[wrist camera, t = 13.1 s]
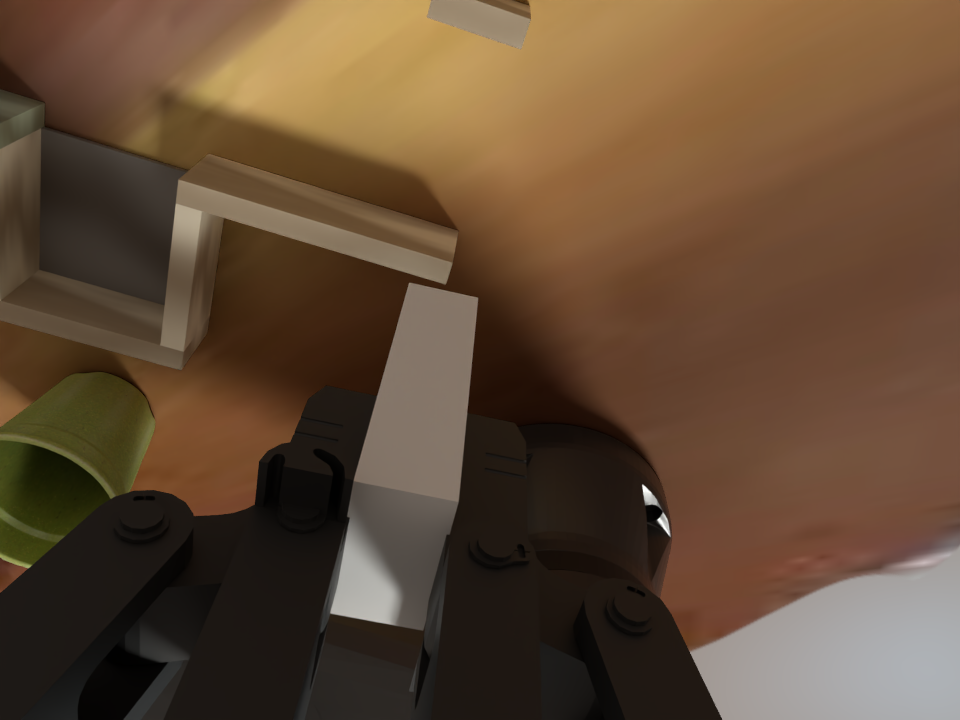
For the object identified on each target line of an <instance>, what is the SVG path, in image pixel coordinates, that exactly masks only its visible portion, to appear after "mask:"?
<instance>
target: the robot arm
mask: <svg viewBox="0 0 960 720" xmlns="http://www.w3.org/2000/svg"><path fill="white" fill-rule="evenodd" d="M477 306H478V298H477V297H473V296H468V295H464V294H459V293H455V292H450V291H445V290H441V289H436V288H432V287H427V286H423V285H418V284H414V283H409V285H408V289H407V292H406V296H405V299H404V303H403V306H402V310H401V313H400V317H399V321H398V324H397V328H396V331H395V335H394V338H393V342H392V346H391V349H390V353H389V356H388V360H387V363H386V367H385V370H384V374H383V378H382V381H381V385H380V388H379V392H378V395H377V396H374V395H370V394H365V393H360V392H355V391H350V390H346V389H341V388H336V387H331V386H325V387H324V388H322V389H321V390H320V391H318V392H317V393H316V394H314V395H313V396H312V397H310V398H309V399H308V401H307V404H306V406H305V408H304V411H303V413H302V416H301V419H300V420H299V423H298V425H297V428H296V430H295V434H294V435H293V437H292V440H291V442H290V443H284V444H281V445H279V446H277V447H275V448H273V449H271V450H269V451H267V453H266V454H265V455H264V456H263V457H262V459H261V460H260V461H259V469H258V479H257V489H256V499H255V505H253V506H251V507H249V508H248V509H245V510H242V511H239V512H235V513H231V514H223V515H211V516H193V513H192V511H191V510H190V508H189V507H188V505H187V504H186V502H184V501H182V500H181V499H179V498H177V497H176V496H174V495H172V494H169V493H164V492H160V491H155V490H146V491H132V492H129V493H125V494H122V495H118V496H115V497H113V498H112V499H110V500H108V501H107V502H105V503H103V504H102V505H100V506H99V507H98V508H97V509H95V510H94V511H93V512H92V513H91V514H90V515H89V516H87V517H86V518H85V519H84V520H83V521H82V522H81V523H79V524H78V525H77V526H76V527H75V528H74V529H73V530H72V531H70V532H69V533H68V534H67V535H66V536H65V537H64V538H62V539H61V540H60V541H59V542H58V543H57V544H56V545H55V546H53V547H52V548H51V549H50V550H49V551H48V552H47V553H45V554H44V555H43V556H42V557H41V558H40V559H39V560H37V561H36V562H35V563H34V564H33V565H32V566H31V567H30V568H28V569H27V570H26V571H25V572H24V573H23V574H22V575H20V576H19V577H18V578H17V579H16V580H15V581H14V582H13V583H11V584H10V585H9V586H8V587H7V588H6V589H5V590H3V591H2V592H1V593H0V720H722V718H721V716H720V714H719V712H718V710H717V708H716V706H715V704H714V702H713V700H712V698H711V696H710V693H709V691H708V689H707V687H706V685H705V683H704V681H703V679H702V677H701V675H700V673H699V671H698V668H697V666H696V665H695V662H694V660H693V658H692V656H691V654H690V652H689V650H688V648H687V646H686V644H685V642H684V640H683V637H682V635H681V633H680V631H679V629H678V627H677V625H676V623H675V621H674V619H673V617H672V615H671V613H670V612H669V610H668V609H667V607H666V606H665V604H664V603H663V602H662V600H661V599H660V595H661V590H662V586H663V581H664V577H665V572H666V568H667V563H668V558H669V554H670V549H671V542H672V528H671V520H670V515H669V511H668V506H667V502H666V497H665V494H664V490H663V488H662V485H661V483H660V481H659V479H658V477H657V476H656V474H655V472H654V471H653V470H652V468H651V467H650V466H649V464H648V463H647V462H646V461H645V460H644V459H643V458H642V457H641V456H640V455H639V454H637V453H636V452H635V451H634V450H632V449H631V448H630V447H628V446H627V445H625V444H623V443H622V442H620V441H618V440H616V439H614V438H612V437H610V436H608V435H605V434H603V433H600V432H597V431H594V430H591V429H587V428H583V427H578V426H572V425H564V424H534V425H526V426H520V427H517V426H516V424H515V423H513V422H508V421H504V420H499V419H494V418H489V417H484V416H480V415H475V414H470V413H467V409H468V399H469V389H470V378H471V368H472V358H473V347H474V337H475V327H476V316H477Z"/></svg>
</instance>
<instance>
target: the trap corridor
mask: <svg viewBox="0 0 960 720" xmlns="http://www.w3.org/2000/svg"><path fill="white" fill-rule="evenodd" d="M427 18H430V19H433V20H436V21H439V22H442V23H445V24H448V25H451V26H453V27H456V28H459V29H462V30H465V31H468V32H471V33H474V34H477V35H480V36H483V37H486V38H489V39H492V40H495V41H497V42H500V43H503V44H506V45H509V46H512V47H515V48H518V49H521V48H522V45H523V42H524V39H525V36H526V33H527V30H528V27H529V23H530V20H531V14H530V6H529V5H526V4H523V3H520V2H517V1H514V0H431V4H430V8H429V11H428V15H427ZM44 119H45V103H44V102H40V101H37V100H34V99H31V98H27V97H24V96H21V95H18V94H15V93H11V92H8V91H5V90H2V89H0V321H4V322H7V323H11V324H15V325H18V326H22V327H25V328H29V329H33V330H36V331H40V332H44V333H47V334H51V335H54V336H58V337H62V338H65V339H69V340H73V341H76V342H80V343H83V344H87V345H91V346H94V347H98V348H102V349H105V350H109V351H112V352H116V353H120V354H123V355H127V356H131V357H134V358H138V359H141V360H145V361H149V362H152V363H156V364H160V365H163V366H167V367H170V368H174V369H178V370H182V369H183V367H184V366H185V364H186V363H187V361H188V360H189V359H190V357H191V356H192V354H193V353H194V351H195V350H196V349H197V347H198V346H199V344H200V343H201V341H202V340H203V339H204V337H205V336H206V334H207V332H208V325H209V319H210V312H211V305H212V298H213V291H214V284H215V277H216V270H217V264H218V257H219V250H220V243H221V236H222V229H223V222H224V218H226V219H229V220H232V221H236V222H239V223H242V224H246V225H249V226H252V227H256V228H259V229H262V230H266V231H269V232H272V233H276V234H279V235H282V236H286V237H289V238H292V239H296V240H299V241H302V242H306V243H309V244H312V245H316V246H319V247H322V248H326V249H329V250H332V251H336V252H339V253H342V254H346V255H349V256H352V257H356V258H359V259H362V260H366V261H369V262H372V263H376V264H379V265H382V266H385V267H389V268H392V269H395V270H399V271H402V272H405V273H409V274H412V275H415V276H419V277H422V278H425V279H429V280H432V281H435V282H439V283H442V284H445V285H446V282H447V279H448V276H449V273H450V270H451V267H452V264H453V259H454V253H455V248H456V243H457V237H458V232H459V231H457V230H454V229H451V228H448V227H444V226H441V225H438V224H435V223H432V222H428V221H425V220H422V219H419V218H415V217H412V216H409V215H406V214H402V213H399V212H396V211H393V210H390V209H386V208H383V207H380V206H377V205H373V204H370V203H367V202H364V201H360V200H357V199H354V198H351V197H347V196H344V195H341V194H338V193H335V192H331V191H328V190H325V189H322V188H318V187H315V186H312V185H309V184H305V183H302V182H299V181H296V180H293V179H289V178H286V177H283V176H280V175H276V174H273V173H270V172H267V171H263V170H260V169H257V168H254V167H251V166H247V165H244V164H241V163H238V162H234V161H231V160H228V159H225V158H221V157H218V156H215V155H212V154H207V155H206V156H205V157H204V158H203V159H202V160H200V161H199V162H198V163H197V164H196V165H195V166H194V167H192V168H191V169H190V170H189V171H188V170H185V169H181V168H178V167H175V166H172V165H168V164H165V163H162V162H159V161H155V160H152V159H149V158H146V157H142V156H139V155H136V154H132V153H129V152H126V151H123V150H119V149H116V148H113V147H110V146H106V145H103V144H100V143H96V142H93V141H90V140H87V139H83V138H80V137H77V136H74V135H70V134H67V133H64V132H60V131H57V130H54V129H51V128H47V127H44Z"/></svg>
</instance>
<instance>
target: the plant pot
mask: <svg viewBox="0 0 960 720" xmlns="http://www.w3.org/2000/svg"><path fill="white" fill-rule="evenodd" d="M154 429H155V419H154V418H153V416H152V413H151V411H150V408H149V405H148V402H147V399H146V398H145V397H144V395H143V394H142V393H141V392H140V391H139V390H138V389H137V388H135V387H134V386H133V385H131V384H130V383H128V382H127V381H125V380H123V379H121V378H119V377H117V376H114V375H111V374H108V373H104V372H93V373H75V374H72V375H70V376H68V377H66V378H65V379H63V380H62V381H61V382H60V383H58V384H57V385H56V386H54V387H53V388H52V389H50V390H49V391H48V392H46V393H45V394H44V395H43V396H41V397H40V398H39V399H37V400H36V401H35V402H33V403H32V404H31V405H30V406H28V407H27V408H26V409H24V410H23V411H22V412H20V413H19V414H18V415H16V416H15V417H14V418H12V419H11V420H10V421H8V422H7V423H6V424H4V425H3V426H1V427H0V558H2V559H4V560H6V561H8V562H11V563H13V564H16V565H20V566H24V567H26V568H30V567H31V566H32V565H33V564H34V563H35V562H36V561H37V560H39V559H40V558H41V557H42V556H43V555H44V554H45V553H47V552H48V551H49V550H50V549H51V548H52V547H53V546H55V545H56V544H57V543H58V542H59V541H60V540H61V539H62V538H64V537H65V536H66V535H67V534H68V533H69V532H70V531H72V530H73V529H74V528H75V527H76V526H77V525H78V524H79V523H81V522H82V521H83V520H84V519H85V518H86V517H87V516H89V515H90V514H91V513H92V512H93V511H94V510H95V509H97V508H98V507H99V506H100V505H102V504H103V503H105V502H107V501H108V500H110V499H112V498H113V497H115V496H118V495H122V494H125V493H129V492H130V490H131V487H132V485H133V482H134V480H135V477H136V475H137V472H138V469H139V467H140V465H141V462H142V460H143V457H144V455H145V453H146V451H147V448H148V446H149V443H150V440H151V438H152V435H153V433H154Z"/></svg>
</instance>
